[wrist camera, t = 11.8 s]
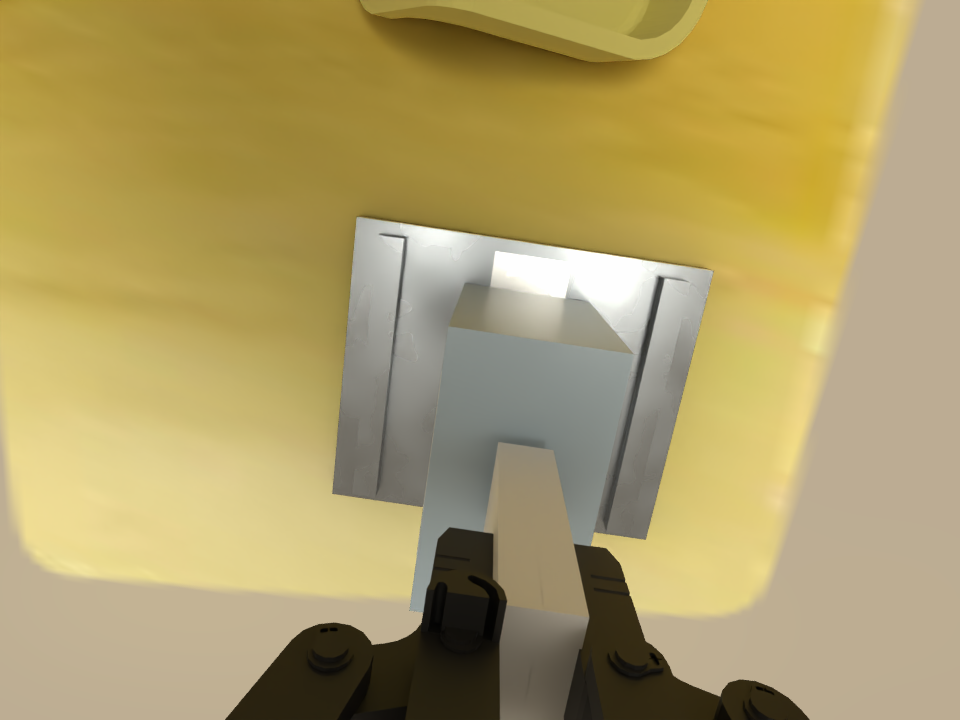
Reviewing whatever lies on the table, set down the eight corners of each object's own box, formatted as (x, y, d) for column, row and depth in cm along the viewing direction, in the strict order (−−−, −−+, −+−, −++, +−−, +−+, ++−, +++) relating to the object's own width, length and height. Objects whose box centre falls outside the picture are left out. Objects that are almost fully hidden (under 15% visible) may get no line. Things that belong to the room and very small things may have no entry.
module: (463, 282, 23) (446, 326, 16) (590, 302, 24) (635, 354, 16) (434, 486, 26) (407, 610, 18) (550, 503, 26) (572, 634, 18)
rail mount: (361, 215, 24) (352, 217, 22) (706, 268, 24) (720, 273, 22) (337, 485, 27) (327, 501, 26) (641, 529, 27) (649, 548, 26)
